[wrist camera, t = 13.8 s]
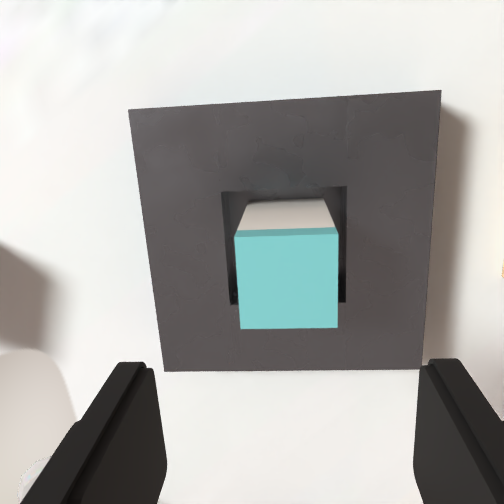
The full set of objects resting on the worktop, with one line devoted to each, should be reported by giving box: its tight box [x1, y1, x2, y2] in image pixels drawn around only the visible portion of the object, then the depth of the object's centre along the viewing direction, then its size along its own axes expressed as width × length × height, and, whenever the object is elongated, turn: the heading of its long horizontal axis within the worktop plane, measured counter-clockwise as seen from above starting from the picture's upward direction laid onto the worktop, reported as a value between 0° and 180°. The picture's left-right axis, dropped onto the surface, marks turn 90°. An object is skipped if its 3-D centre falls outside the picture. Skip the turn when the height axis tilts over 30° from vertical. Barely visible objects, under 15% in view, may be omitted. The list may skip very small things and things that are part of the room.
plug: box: [234, 198, 338, 329], centre depth 21 cm, size 4×4×7 cm
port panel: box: [128, 90, 441, 372], centre depth 23 cm, size 14×14×3 cm
